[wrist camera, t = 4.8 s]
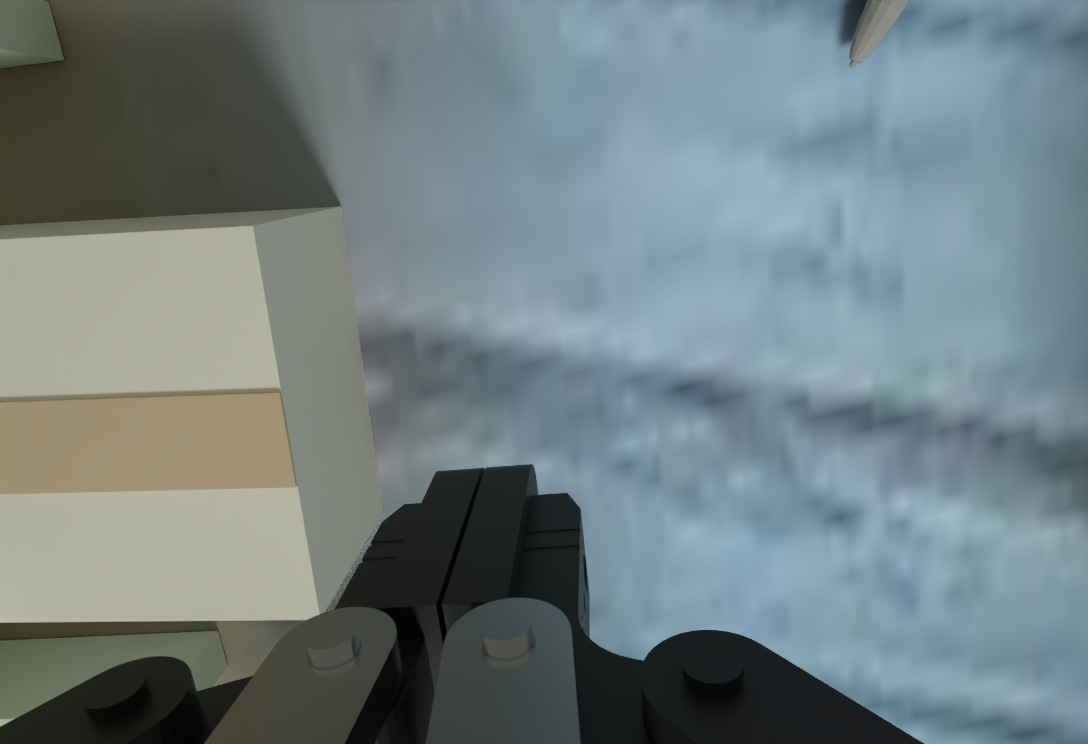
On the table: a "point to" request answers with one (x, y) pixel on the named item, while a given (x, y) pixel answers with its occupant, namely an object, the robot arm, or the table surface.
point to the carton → (181, 418)
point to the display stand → (62, 663)
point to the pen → (874, 27)
